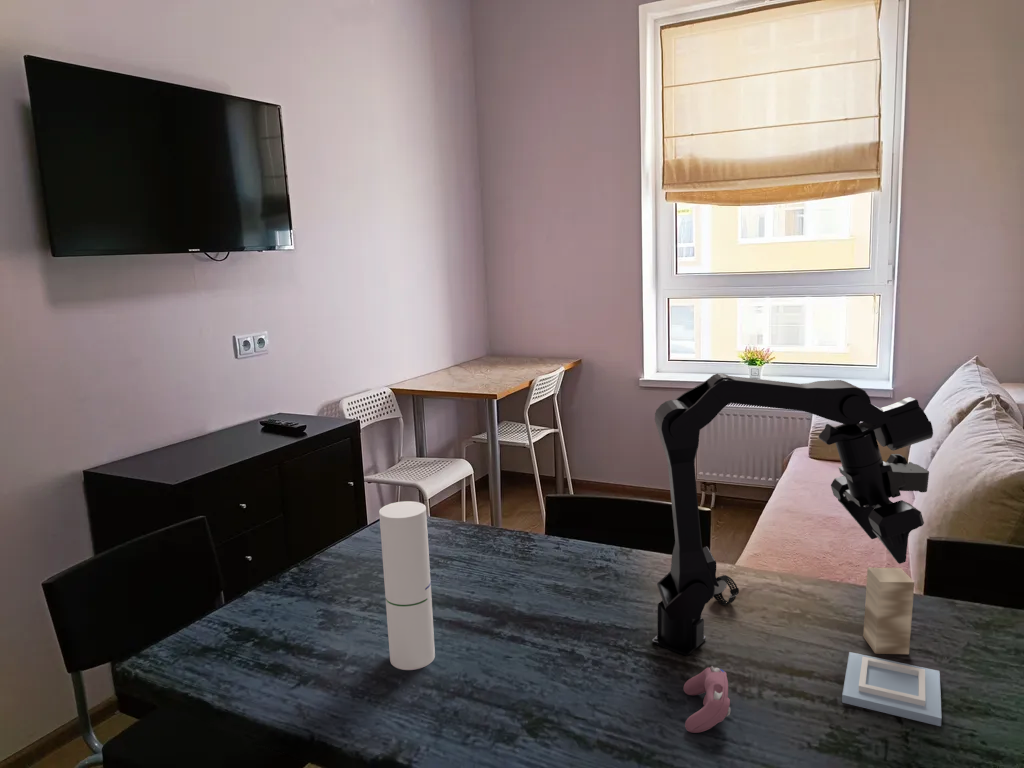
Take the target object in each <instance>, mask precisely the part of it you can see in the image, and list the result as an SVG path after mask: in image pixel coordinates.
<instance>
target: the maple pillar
mask: <svg viewBox="0 0 1024 768" xmlns="http://www.w3.org/2000/svg"><path fill="white" fill-rule="evenodd" d="M914 592H915V581H914V580H913V579H912V578H911V577H910V576H909V575H908V574H907V573H906V571H904V570H903V569H902V568H901V567H867V573H866V588H865V606H864V619H863V622H864V623H863V636H862V637H863V638H864V640H865V641H866V643H867V644H868V646H869V647H870V648H871V650H872V651H873V653H874V654H878V655H881V654H882V655H885V654H886V655H909V654H910V645H911V632H912V619H913V606H914V605H913V604H914Z"/></svg>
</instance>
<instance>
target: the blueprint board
mask: <svg viewBox="0 0 1024 768" xmlns="http://www.w3.org/2000/svg"><path fill="white" fill-rule="evenodd" d="M940 673H941V672H940V670H937V669H932V668H927V667H922V666H918V665H914V664H909V663H903V662H899V661H894V660H891V659H886V658H885V659H884V658H880V657H876V656H871V655H866V654H861V653H857V652H851V651H849V652H848V658H847V665H846V670H845V677H844V683H843V687H842V688H843V689H842V694H841V695H842V696H841V697H842V700H841V703H843V704H847V705H851V706H856V707H858V708H864V709H868V710H872V711H875V712H881V713H884V714H887V715H892V716H896V717H900V718H906V719H909V720H913V721H917V722H922V723H924V724H929V725H933V726H937V727H942V698H941V697H942V695H941V675H940Z"/></svg>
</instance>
